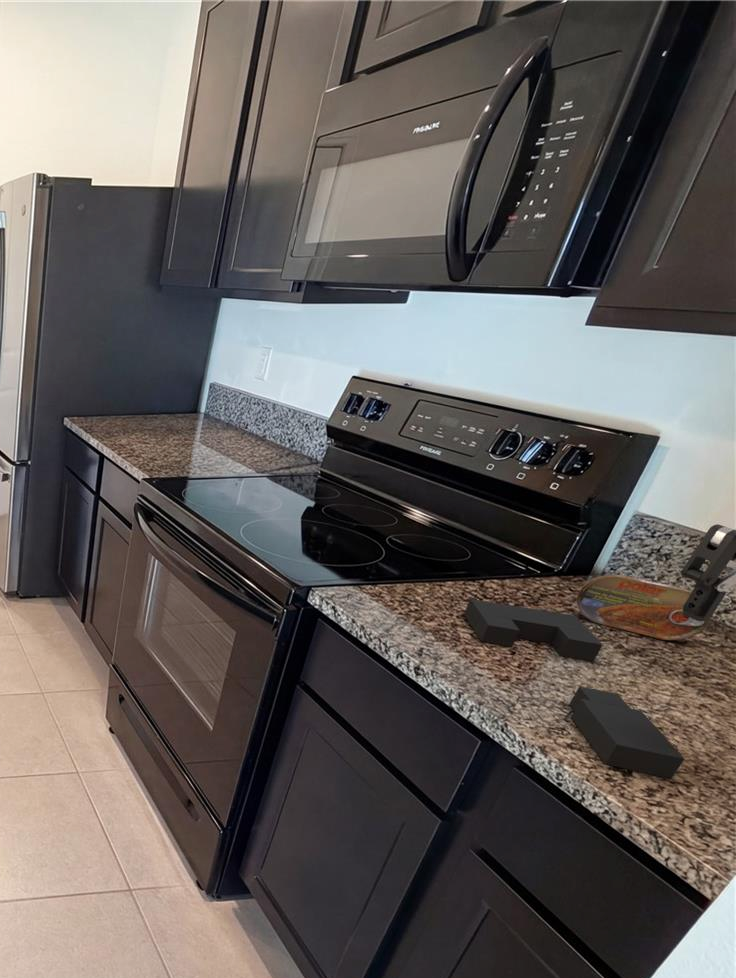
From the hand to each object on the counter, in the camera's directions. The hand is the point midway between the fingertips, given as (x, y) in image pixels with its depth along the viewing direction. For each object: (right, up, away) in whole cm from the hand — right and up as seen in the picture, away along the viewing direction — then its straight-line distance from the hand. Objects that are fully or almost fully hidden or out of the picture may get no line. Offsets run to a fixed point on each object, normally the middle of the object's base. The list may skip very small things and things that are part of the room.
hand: (733, 619), depth 71 cm
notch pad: (+7, -4, +33) cm, 34 cm away
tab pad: (-3, -15, +10) cm, 18 cm away
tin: (+27, -3, +36) cm, 45 cm away
